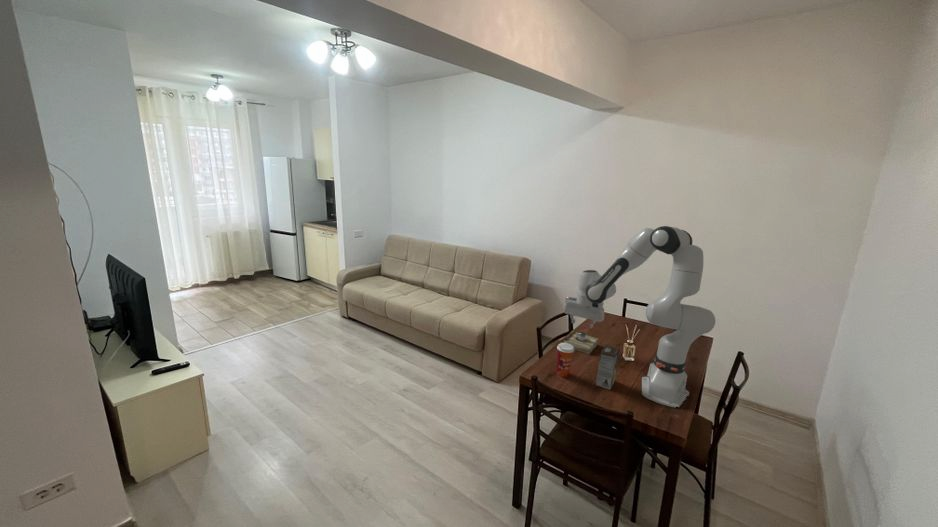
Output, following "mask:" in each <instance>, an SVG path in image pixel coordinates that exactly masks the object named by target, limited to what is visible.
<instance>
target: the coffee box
mask: <svg viewBox="0 0 938 527" xmlns="http://www.w3.org/2000/svg"><path fill="white" fill-rule="evenodd" d="M620 351H621V348H620V347H619V348H618V347H614V346H611V345H607V344H606V345H605V346H604V347H603V348H602V350H601V352H600V354H599V361H598V368H597V376H596V381H595V386H598V387H601V388H604V389H607V390H611V389H612V387H613V386H614V383H615V382H616V376H617V371H618V370H617V369H618V364H619V360H620V358H619V357H620Z"/></svg>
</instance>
